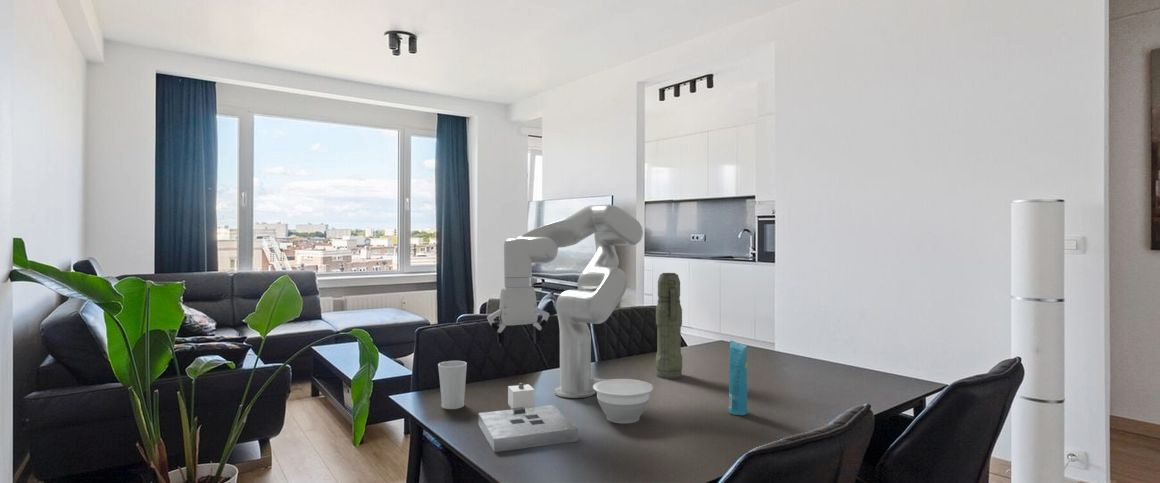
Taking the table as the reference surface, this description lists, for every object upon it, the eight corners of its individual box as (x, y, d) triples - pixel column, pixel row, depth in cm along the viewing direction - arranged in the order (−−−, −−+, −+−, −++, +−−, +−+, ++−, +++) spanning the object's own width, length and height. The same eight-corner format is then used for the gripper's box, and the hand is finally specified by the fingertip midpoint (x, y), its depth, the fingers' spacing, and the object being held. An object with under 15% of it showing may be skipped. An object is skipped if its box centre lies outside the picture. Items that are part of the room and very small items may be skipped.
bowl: (583, 413, 161) (583, 382, 161) (635, 406, 167) (635, 376, 167) (609, 431, 146) (609, 397, 146) (664, 423, 153) (664, 390, 152)
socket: (553, 416, 159) (552, 402, 158) (577, 441, 140) (577, 425, 140) (478, 424, 152) (478, 410, 152) (494, 452, 133) (493, 435, 133)
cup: (460, 410, 164) (460, 367, 163) (433, 409, 165) (433, 366, 165) (471, 402, 171) (471, 361, 171) (445, 401, 173) (445, 360, 173)
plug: (529, 407, 167) (528, 380, 166) (534, 413, 161) (534, 385, 161) (508, 409, 165) (507, 381, 164) (513, 415, 159) (512, 387, 159)
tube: (754, 415, 158) (754, 344, 158) (740, 418, 156) (740, 345, 156) (735, 408, 165) (735, 339, 164) (721, 410, 163) (721, 341, 162)
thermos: (663, 380, 195) (663, 274, 194) (650, 372, 206) (650, 272, 206) (688, 379, 197) (688, 274, 196) (674, 370, 209) (673, 271, 208)
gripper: (545, 280, 168) (545, 340, 169) (484, 283, 163) (485, 344, 163) (552, 283, 161) (553, 345, 162) (489, 285, 156) (490, 350, 156)
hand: (519, 345), depth 163 cm, fingers open, 9 cm apart
